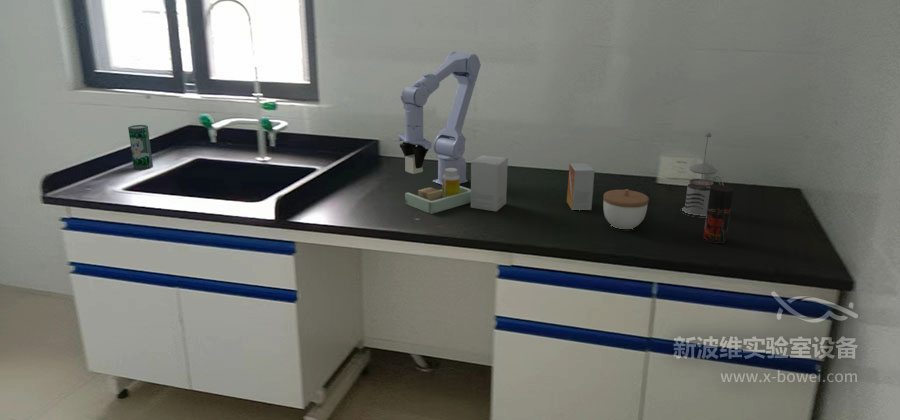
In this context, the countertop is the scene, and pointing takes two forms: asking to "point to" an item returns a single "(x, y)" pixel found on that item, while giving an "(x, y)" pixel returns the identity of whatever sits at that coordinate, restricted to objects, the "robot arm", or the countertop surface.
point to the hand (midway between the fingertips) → (414, 166)
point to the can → (140, 147)
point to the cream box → (411, 165)
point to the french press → (697, 185)
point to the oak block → (430, 194)
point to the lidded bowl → (624, 208)
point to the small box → (580, 186)
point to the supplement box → (488, 182)
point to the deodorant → (718, 213)
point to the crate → (439, 201)
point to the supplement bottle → (450, 182)
